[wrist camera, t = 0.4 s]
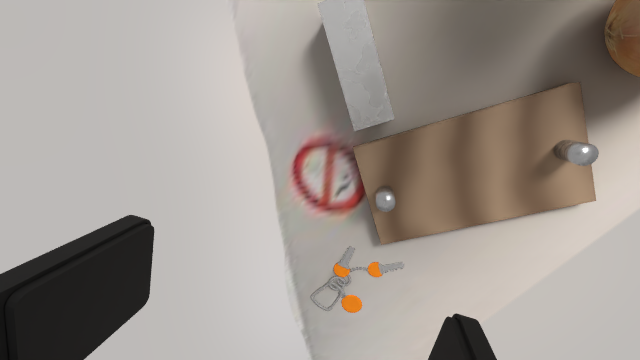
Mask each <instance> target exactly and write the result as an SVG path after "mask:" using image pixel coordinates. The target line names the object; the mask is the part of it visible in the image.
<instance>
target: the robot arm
mask: <svg viewBox="0 0 640 360" xmlns="http://www.w3.org/2000/svg"><path fill="white" fill-rule="evenodd" d="M153 240H154V227H153V226H151V222H150V221H149V220H147V219H144V218H141V217H138V216H134V215H129V216H126V217H124V218H121V219H119V220H117V221H115V222H113V223H111V224H108V225H106V226H104V227H102V228H100V229H97V230H95V231H93V232H91V233H89V234H87V235H84V236H82V237H80V238H78V239H76V240H74V241H72V242H69V243H67V244H65V245H63V246H61V247H58V248H56V249H54V250H52V251H50V252H48V253H45V254H43V255H41V256H39V257H37V258H34V259H32V260H30V261H28V262H26V263H24V264H21V265H19V266H17V267H15V268H13V269H11V270H9V271H6V272H5V273H2V274H0V360H84V359H85V358H86V357H87V356H88V355H89V354H91V353H92V352H93V351H94V350H95V349H96V348H97V347H98V346H100V345H101V344H102V343H103V342H104V341H105V340H106V339H107V338H108V337H110V336H111V335H112V334H113V333H114V332H115V331H116V330H118V329H119V328H120V327H121V326H122V325H123V324H124V323H126V322H127V321H128V320H129V319H130V318H131V317H132V316H133V315H135V314H136V313H137V312H138V311H139V310H140V309H141V308H142V307H143V306H144V305H145V304H146V302H147V300H148V298H149V294H150V281H151V267H152V253H153ZM428 360H497V359H496V357H495V355H494V353H493V351H492V349H491V346H490V344H489V342H488V340H487V338H486V336H485V334H484V332H483V330H482V328H481V326H480V324H479V322H478V321H477V320H476V319H473V318H469V317H466V316H463V315H459V314H454V315H453V316H452V317H447V318H446V319H445V321H444V323H443V325H442V328H441V330H440V332H439V335H438V337H437V340H436V342H435V344H434V347H433V349H432V351H431V354H430V356H429V358H428Z"/></svg>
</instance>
